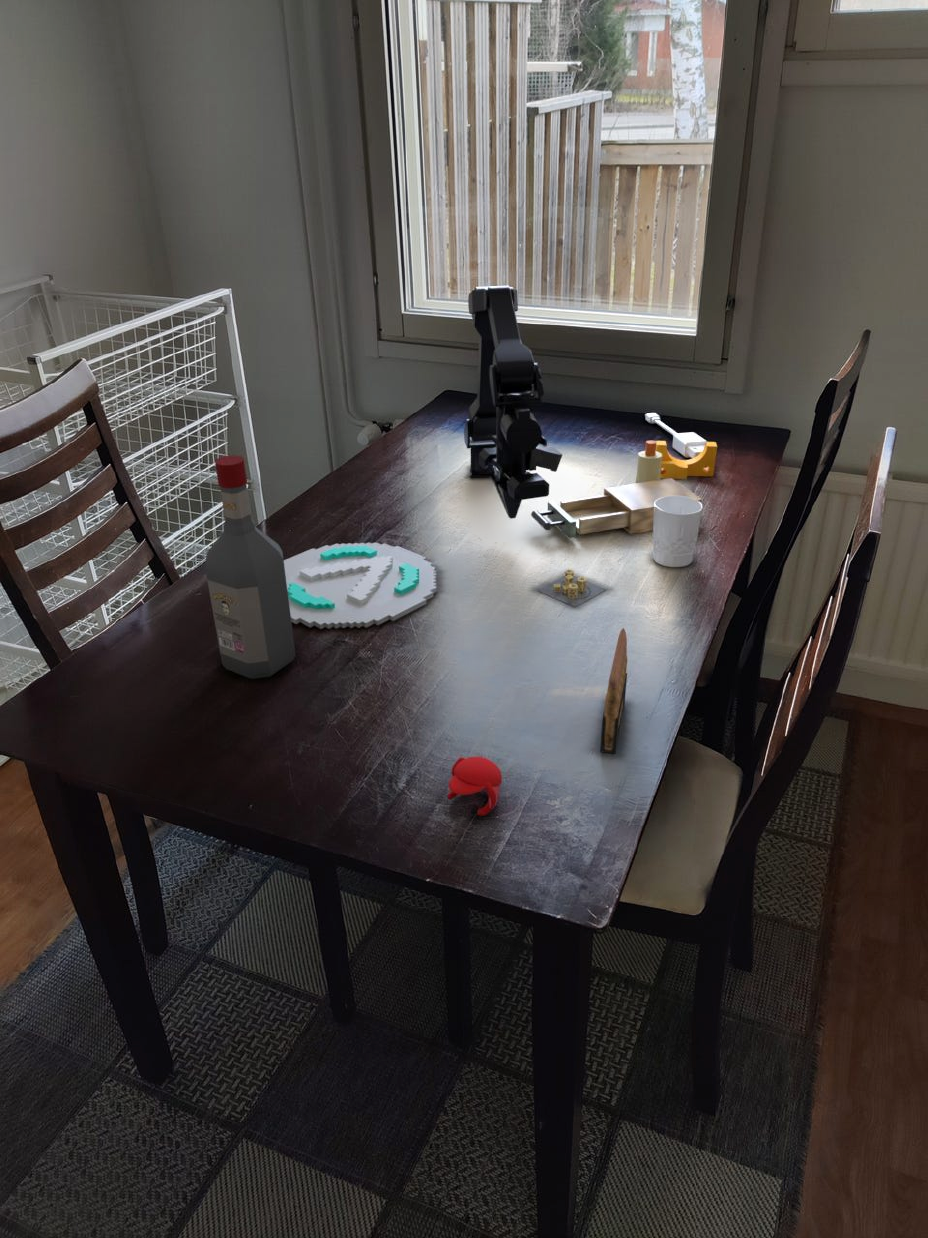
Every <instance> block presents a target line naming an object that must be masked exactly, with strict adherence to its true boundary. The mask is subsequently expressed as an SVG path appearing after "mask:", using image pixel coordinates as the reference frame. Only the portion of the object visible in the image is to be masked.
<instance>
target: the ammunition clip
mask: <svg viewBox="0 0 928 1238" xmlns="http://www.w3.org/2000/svg"><path fill="white" fill-rule="evenodd" d="M615 646H616V647H615V652H614V655H613V660H612V665H611V669H610V674H609V678H608V685H607V691H606V694H605V699H604V701H605V702H604V710H603V714H602V722H601V734H600V745H599V746H600V749H599V751H600V752H601V753H609V754H616V751H617V747H618V742H619V737H620V731H621V725H622V722H623V721H622V720H623V715H624V710H625V705H626V695H627V694H626V693H627V681H628V673H627V670H628V669H627V668H628V654H627V653H628V652H627V651H628V648H627V647H628V638H627V633H626V630H625V628H621V630H620V632H619V634H618V638H617V642H616V645H615Z"/></svg>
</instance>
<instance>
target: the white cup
mask: <svg viewBox="0 0 928 1238" xmlns="http://www.w3.org/2000/svg"><path fill="white" fill-rule="evenodd" d="M703 509H704V504H702V503H700V502H699V501H697V500H695V499H693V498H690V497H685V496H665V497H661V498H659V499H657V500H656V501H655V502H654V518H653V530H652V560H653V561H654V562H655V563H656V564H658V565H661V566H664V567H669V568H683V567H687V566H689V565H690V564H692V563H693V561H694V554H695V548H696V546H697V541H698V538H699V531H700V526H701V520H702V514H703Z"/></svg>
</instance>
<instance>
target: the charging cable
mask: <svg viewBox="0 0 928 1238" xmlns="http://www.w3.org/2000/svg"><path fill="white" fill-rule="evenodd" d="M644 416H645V421H647V422H648V423H649V424H657V425H658V426H659V427H661V428H662V429H663V430H665V431H667V432H668V433H669V434H671V435H672V437H673V438H672V445H671V446H672V447H671V448H673V450H675V451H677V452H678V453H679V454H681V455H682V457H684V458H691V459H693V458H695V457H696V456H698V455H699V454H700V453H701V452H702V451H703V449H704V447H705V444H706V442H708V441H707V440H706V439H704V438H703V437H701V435H698V434H697V433H696V432H694V431H691V432H679V433H678V432H676V430H674V429H673V428H671V427H669V426H668V425H666V424H665V423H664V422H663V421H661V416H660V415H659V414H657V413H656V412H650V413H645V414H644Z"/></svg>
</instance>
